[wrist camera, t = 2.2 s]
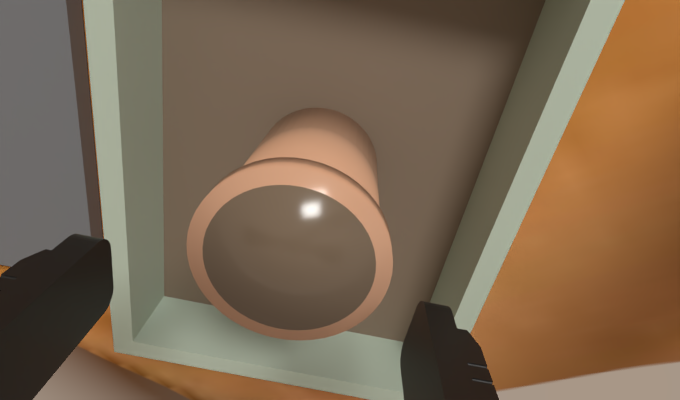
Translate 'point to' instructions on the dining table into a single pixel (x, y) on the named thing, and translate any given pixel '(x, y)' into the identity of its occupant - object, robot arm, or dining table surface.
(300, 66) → the pale green tray
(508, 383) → the dining table surface
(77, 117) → the slate tile
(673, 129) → the dining table surface
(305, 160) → the clay pot
